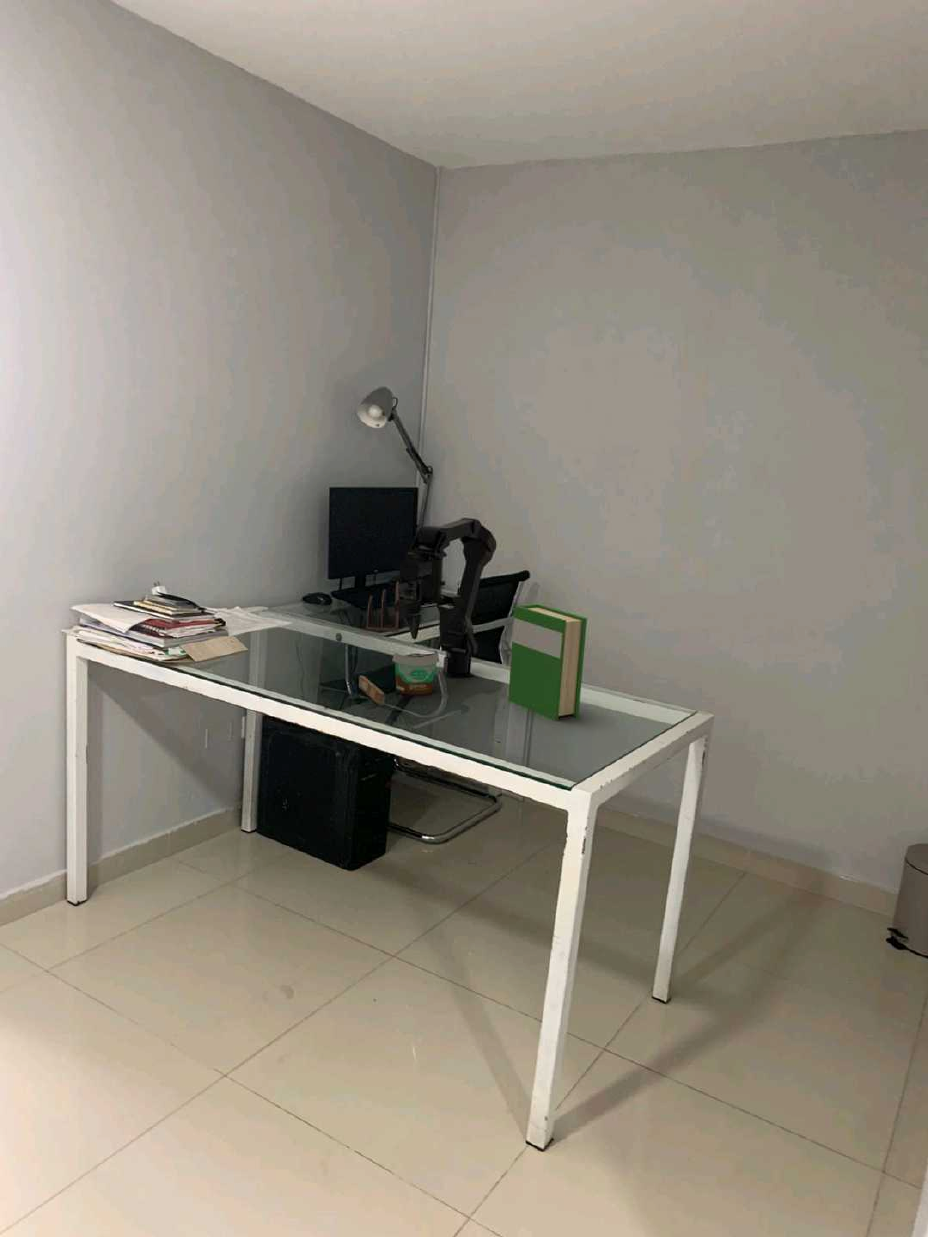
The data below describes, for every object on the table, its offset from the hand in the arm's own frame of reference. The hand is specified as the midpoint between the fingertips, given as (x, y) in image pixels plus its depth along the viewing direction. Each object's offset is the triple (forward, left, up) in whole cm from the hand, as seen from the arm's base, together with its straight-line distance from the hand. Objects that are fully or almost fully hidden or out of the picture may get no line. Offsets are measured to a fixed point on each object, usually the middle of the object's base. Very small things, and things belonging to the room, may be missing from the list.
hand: (428, 636), depth 236 cm
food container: (+4, +5, -14) cm, 15 cm away
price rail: (+16, +5, -13) cm, 21 cm away
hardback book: (-21, +24, -14) cm, 34 cm away
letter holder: (-14, -72, -14) cm, 74 cm away
